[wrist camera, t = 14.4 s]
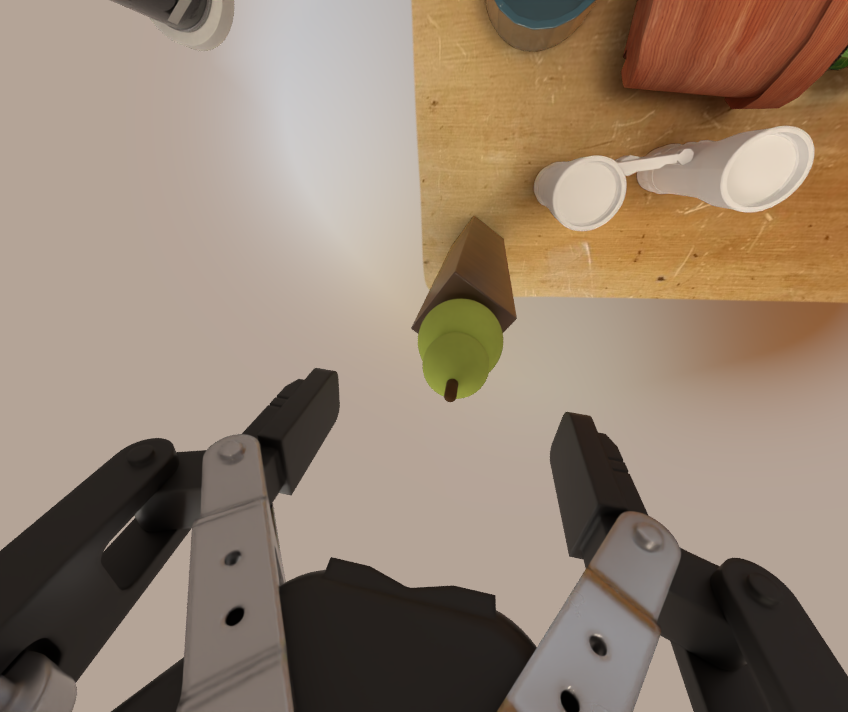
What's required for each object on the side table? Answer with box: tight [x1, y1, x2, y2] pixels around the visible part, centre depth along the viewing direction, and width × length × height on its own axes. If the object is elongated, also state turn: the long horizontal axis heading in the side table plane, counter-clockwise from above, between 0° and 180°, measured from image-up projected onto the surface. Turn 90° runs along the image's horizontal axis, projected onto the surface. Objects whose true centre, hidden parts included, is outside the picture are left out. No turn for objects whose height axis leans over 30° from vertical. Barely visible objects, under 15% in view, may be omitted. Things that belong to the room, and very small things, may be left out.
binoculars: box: [534, 126, 814, 231], centre depth 33 cm, size 17×5×18 cm, turn 98°
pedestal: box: [412, 216, 517, 334], centre depth 35 cm, size 5×5×28 cm
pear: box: [418, 299, 503, 402], centre depth 19 cm, size 5×5×9 cm
